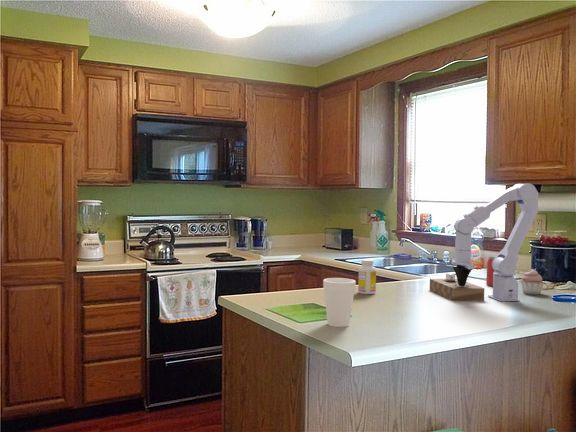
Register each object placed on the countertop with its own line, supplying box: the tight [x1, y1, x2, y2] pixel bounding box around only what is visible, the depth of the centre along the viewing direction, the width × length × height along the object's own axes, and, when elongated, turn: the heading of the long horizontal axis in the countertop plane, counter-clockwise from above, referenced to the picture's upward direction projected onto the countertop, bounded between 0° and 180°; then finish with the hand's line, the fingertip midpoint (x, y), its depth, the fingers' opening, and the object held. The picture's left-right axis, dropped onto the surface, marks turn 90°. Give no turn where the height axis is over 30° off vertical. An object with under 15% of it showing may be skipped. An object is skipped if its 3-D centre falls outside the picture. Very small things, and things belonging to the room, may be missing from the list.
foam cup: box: [322, 277, 357, 328], centre depth 164 cm, size 10×9×13 cm
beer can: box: [485, 256, 496, 288], centre depth 240 cm, size 7×7×12 cm
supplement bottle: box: [357, 259, 377, 295], centre depth 216 cm, size 7×7×13 cm
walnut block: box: [429, 278, 485, 302], centre depth 216 cm, size 22×12×4 cm, turn 8°
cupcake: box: [519, 268, 545, 296], centre depth 223 cm, size 9×9×10 cm
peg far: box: [445, 272, 456, 282], centre depth 221 cm, size 4×4×4 cm
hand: (461, 285), depth 211 cm, fingers closed, pressing on peg near
